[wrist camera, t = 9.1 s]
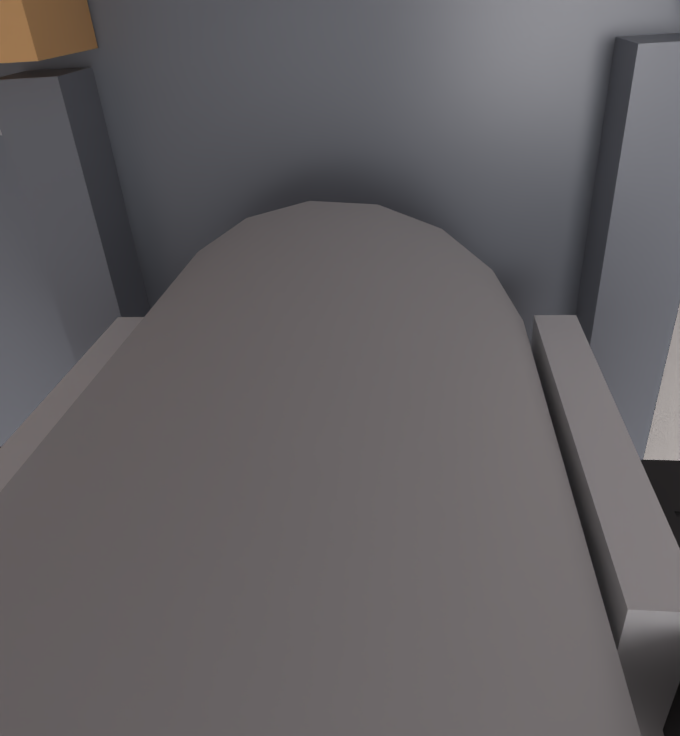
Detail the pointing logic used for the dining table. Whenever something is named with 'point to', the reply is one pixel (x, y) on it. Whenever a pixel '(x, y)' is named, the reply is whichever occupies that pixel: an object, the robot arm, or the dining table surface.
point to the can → (308, 510)
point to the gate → (44, 29)
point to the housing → (347, 160)
